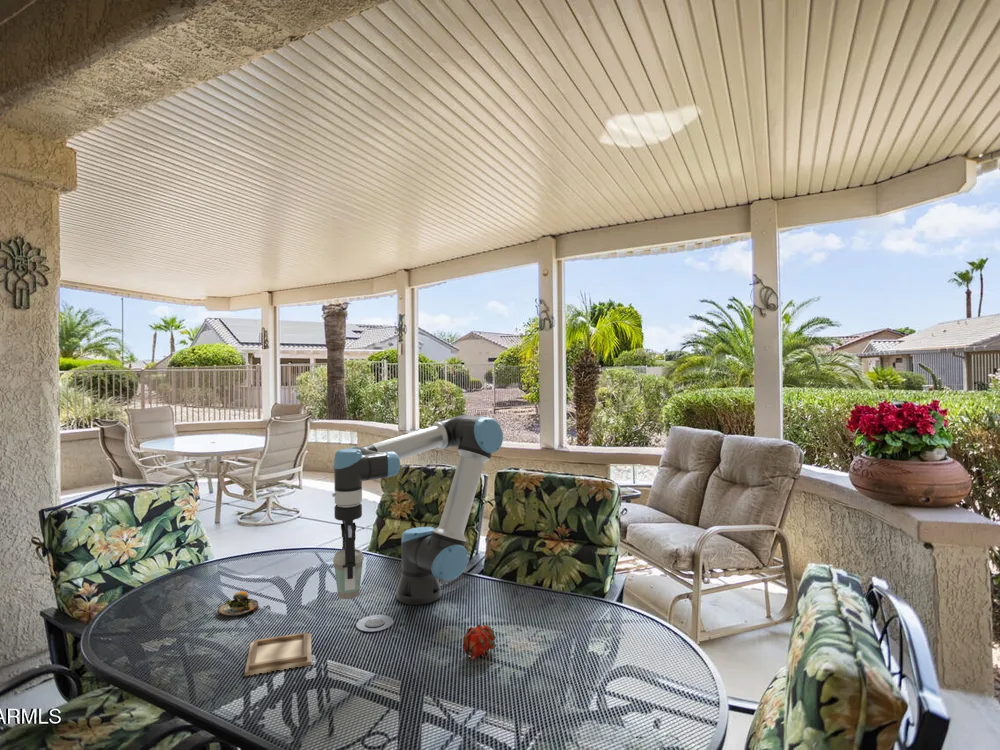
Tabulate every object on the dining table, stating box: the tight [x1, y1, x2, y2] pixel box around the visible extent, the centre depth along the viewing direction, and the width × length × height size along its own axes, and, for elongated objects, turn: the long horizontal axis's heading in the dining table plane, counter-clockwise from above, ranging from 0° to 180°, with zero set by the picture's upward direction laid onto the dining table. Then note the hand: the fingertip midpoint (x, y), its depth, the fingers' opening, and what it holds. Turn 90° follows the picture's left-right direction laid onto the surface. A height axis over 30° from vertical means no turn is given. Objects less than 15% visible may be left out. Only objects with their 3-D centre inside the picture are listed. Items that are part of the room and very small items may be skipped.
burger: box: [217, 587, 260, 616], centre depth 175 cm, size 12×12×8 cm
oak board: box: [244, 632, 312, 677], centre depth 148 cm, size 16×16×2 cm
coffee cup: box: [332, 548, 365, 600], centre depth 154 cm, size 9×8×12 cm
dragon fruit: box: [462, 623, 497, 661], centre depth 148 cm, size 8×8×12 cm
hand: (348, 583), depth 155 cm, fingers closed on coffee cup, 9 cm apart
